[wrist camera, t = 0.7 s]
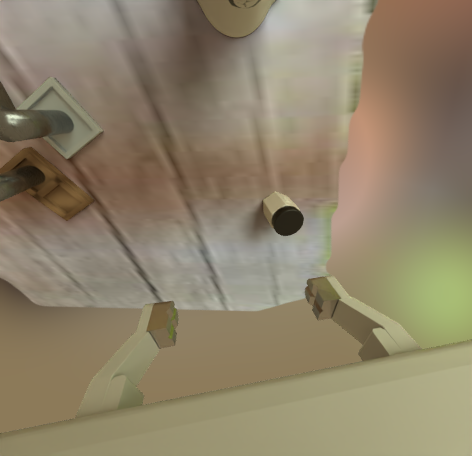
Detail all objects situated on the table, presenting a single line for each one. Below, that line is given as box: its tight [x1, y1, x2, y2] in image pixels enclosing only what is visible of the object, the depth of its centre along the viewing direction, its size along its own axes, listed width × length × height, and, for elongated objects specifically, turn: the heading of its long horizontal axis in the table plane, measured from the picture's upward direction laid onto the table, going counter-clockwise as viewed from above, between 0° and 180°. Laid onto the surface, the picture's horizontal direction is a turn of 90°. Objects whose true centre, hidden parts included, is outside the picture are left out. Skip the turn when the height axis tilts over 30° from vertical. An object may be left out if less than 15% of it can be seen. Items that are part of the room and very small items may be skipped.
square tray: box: [16, 77, 103, 159], centre depth 40 cm, size 11×11×2 cm
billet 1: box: [0, 109, 74, 142], centre depth 34 cm, size 4×4×14 cm
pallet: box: [0, 147, 94, 221], centre depth 46 cm, size 16×9×2 cm, turn 31°
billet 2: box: [0, 165, 45, 201], centre depth 38 cm, size 4×4×14 cm
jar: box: [263, 192, 304, 236], centre depth 54 cm, size 9×8×12 cm
